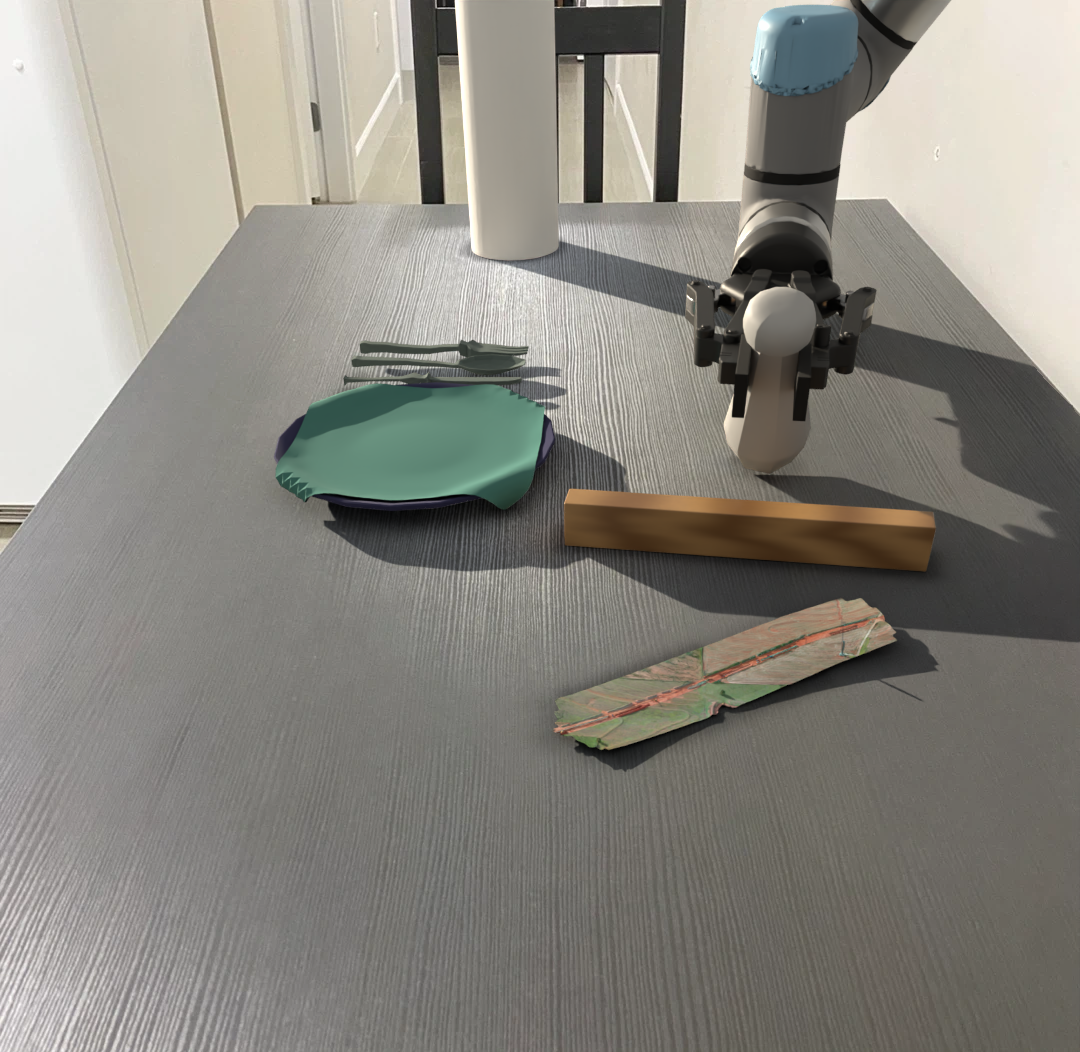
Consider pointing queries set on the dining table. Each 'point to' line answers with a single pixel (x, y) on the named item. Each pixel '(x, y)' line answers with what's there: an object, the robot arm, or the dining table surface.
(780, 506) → the long wooden block
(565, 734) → the map
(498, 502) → the cutlery set
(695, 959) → the dining table surface
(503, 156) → the cylinder container
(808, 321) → the salt shaker
